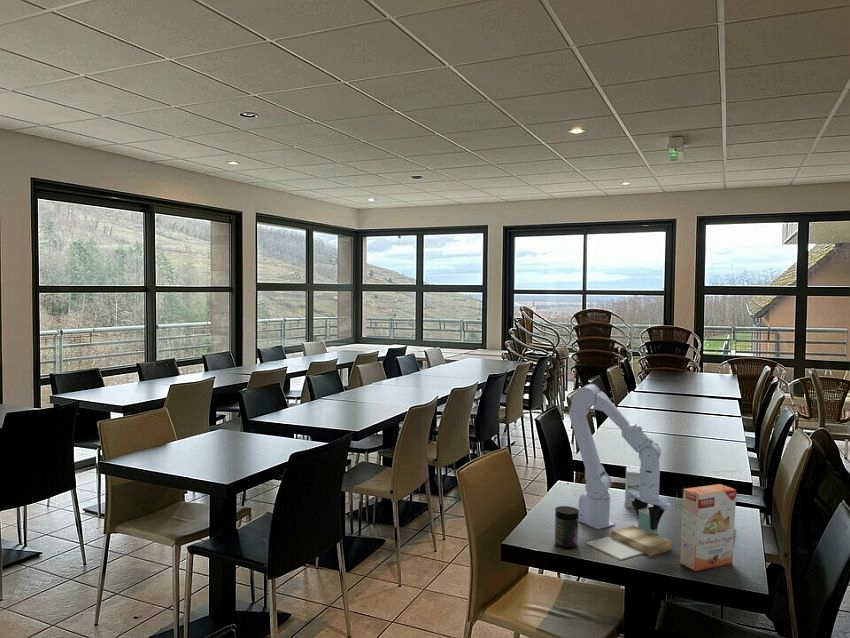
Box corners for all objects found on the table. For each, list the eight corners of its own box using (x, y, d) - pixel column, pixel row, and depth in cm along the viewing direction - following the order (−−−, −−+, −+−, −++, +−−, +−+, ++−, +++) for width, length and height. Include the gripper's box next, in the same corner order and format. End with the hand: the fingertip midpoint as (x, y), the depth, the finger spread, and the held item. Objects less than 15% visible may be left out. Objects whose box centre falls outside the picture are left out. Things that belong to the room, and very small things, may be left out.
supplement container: (572, 552, 177) (573, 515, 177) (550, 546, 181) (551, 510, 181) (581, 544, 183) (582, 509, 182) (559, 538, 187) (560, 504, 186)
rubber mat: (586, 543, 184) (586, 542, 184) (607, 537, 188) (607, 536, 188) (620, 560, 172) (620, 558, 172) (643, 553, 177) (643, 552, 177)
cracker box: (696, 573, 165) (699, 494, 165) (678, 563, 171) (681, 488, 170) (734, 564, 171) (737, 488, 170) (716, 555, 177) (719, 482, 176)
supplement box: (624, 507, 215) (626, 471, 215) (624, 501, 222) (625, 465, 222) (647, 510, 213) (648, 473, 213) (646, 503, 220) (648, 467, 220)
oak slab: (611, 538, 188) (611, 530, 187) (632, 533, 192) (632, 525, 192) (650, 556, 176) (650, 547, 175) (671, 549, 180) (671, 541, 180)
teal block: (637, 531, 193) (638, 509, 193) (646, 529, 195) (647, 507, 195) (648, 536, 190) (649, 513, 190) (657, 534, 192) (658, 511, 192)
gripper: (678, 487, 188) (676, 532, 188) (639, 475, 200) (637, 517, 201) (662, 491, 184) (661, 536, 185) (623, 478, 197) (622, 520, 197)
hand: (647, 526), depth 193 cm, fingers closed on teal block, 4 cm apart
